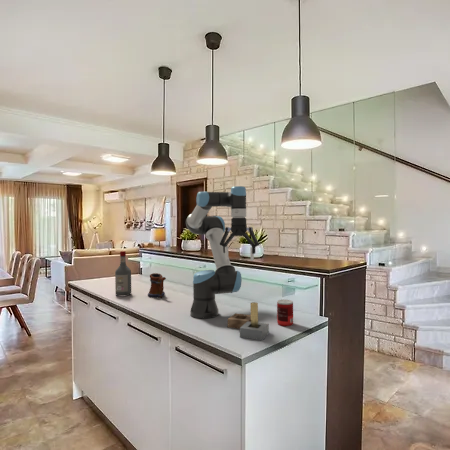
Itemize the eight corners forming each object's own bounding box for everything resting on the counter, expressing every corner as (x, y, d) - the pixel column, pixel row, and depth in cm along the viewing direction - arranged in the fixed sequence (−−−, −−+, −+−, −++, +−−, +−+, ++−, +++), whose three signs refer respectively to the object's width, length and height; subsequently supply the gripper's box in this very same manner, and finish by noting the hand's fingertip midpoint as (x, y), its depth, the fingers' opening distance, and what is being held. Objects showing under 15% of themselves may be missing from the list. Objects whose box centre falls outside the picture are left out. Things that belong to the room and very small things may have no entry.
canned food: (291, 321, 162) (290, 299, 162) (295, 326, 154) (294, 303, 154) (275, 321, 162) (275, 299, 162) (279, 326, 154) (278, 303, 154)
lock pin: (250, 335, 142) (249, 303, 142) (252, 333, 145) (251, 302, 145) (257, 336, 141) (256, 304, 141) (259, 334, 144) (258, 302, 144)
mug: (172, 297, 215) (172, 275, 215) (156, 300, 208) (156, 277, 208) (160, 293, 229) (160, 272, 229) (144, 295, 222) (144, 273, 222)
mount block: (227, 327, 154) (227, 318, 154) (235, 321, 163) (235, 313, 163) (247, 329, 150) (247, 321, 150) (254, 323, 159) (254, 315, 159)
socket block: (239, 337, 141) (239, 327, 141) (247, 329, 150) (247, 321, 150) (262, 340, 137) (262, 330, 137) (268, 332, 146) (268, 323, 146)
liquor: (126, 296, 221) (126, 252, 221) (114, 295, 223) (113, 252, 222) (132, 293, 230) (131, 250, 230) (120, 292, 232) (119, 250, 231)
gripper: (213, 217, 164) (213, 259, 164) (260, 217, 154) (260, 261, 154) (219, 217, 171) (219, 258, 171) (265, 217, 161) (265, 259, 161)
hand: (239, 260), depth 163 cm, fingers open, 13 cm apart
